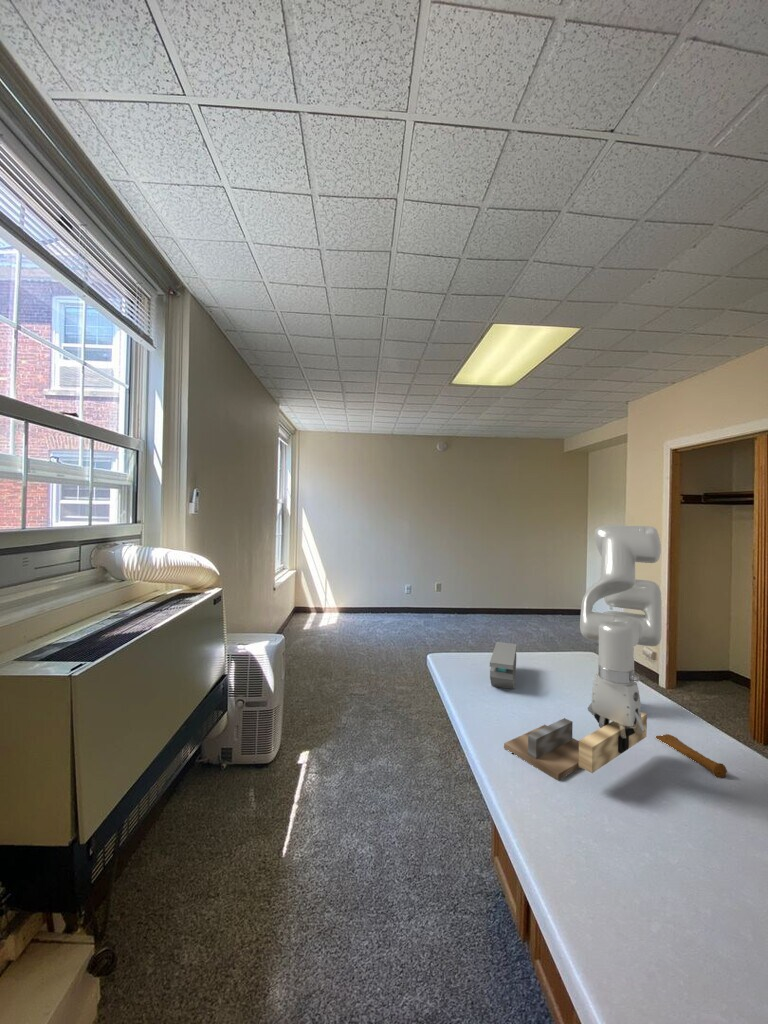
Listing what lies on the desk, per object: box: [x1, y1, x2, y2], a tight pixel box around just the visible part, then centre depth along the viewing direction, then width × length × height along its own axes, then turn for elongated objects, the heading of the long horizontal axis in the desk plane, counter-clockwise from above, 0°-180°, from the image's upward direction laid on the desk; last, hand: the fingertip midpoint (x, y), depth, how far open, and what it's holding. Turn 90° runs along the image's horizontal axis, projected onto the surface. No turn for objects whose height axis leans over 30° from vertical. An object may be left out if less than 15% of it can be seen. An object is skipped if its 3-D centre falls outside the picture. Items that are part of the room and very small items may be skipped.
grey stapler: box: [489, 641, 518, 690], centre depth 158 cm, size 25×8×11 cm, turn 160°
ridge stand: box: [503, 717, 581, 781], centre depth 112 cm, size 18×16×6 cm
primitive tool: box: [655, 733, 728, 778], centre depth 111 cm, size 19×6×4 cm, turn 10°
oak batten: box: [578, 711, 648, 774], centre depth 104 cm, size 26×3×6 cm, turn 124°
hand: (614, 746), depth 104 cm, fingers closed on oak batten, 3 cm apart
